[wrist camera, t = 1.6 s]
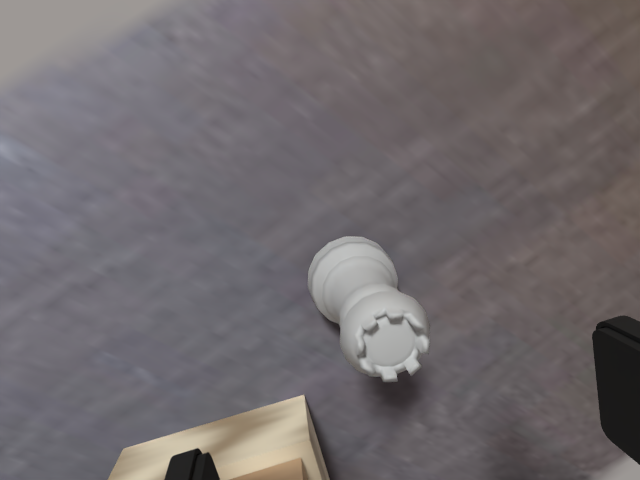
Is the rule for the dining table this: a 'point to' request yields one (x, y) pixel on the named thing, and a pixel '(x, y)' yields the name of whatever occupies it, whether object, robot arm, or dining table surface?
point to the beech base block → (234, 444)
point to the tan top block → (279, 472)
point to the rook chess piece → (369, 308)
